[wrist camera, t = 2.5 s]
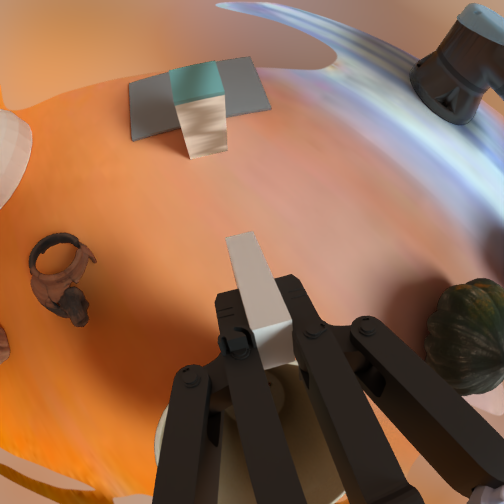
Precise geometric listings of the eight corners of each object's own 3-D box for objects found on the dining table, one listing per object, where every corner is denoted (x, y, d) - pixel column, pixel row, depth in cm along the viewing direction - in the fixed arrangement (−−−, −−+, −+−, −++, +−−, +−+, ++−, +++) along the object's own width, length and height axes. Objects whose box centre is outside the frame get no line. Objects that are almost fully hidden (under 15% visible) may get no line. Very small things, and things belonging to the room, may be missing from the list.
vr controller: (35, 289, 33) (13, 250, 27) (87, 256, 39) (73, 215, 33) (71, 355, 29) (44, 324, 23) (129, 314, 35) (117, 276, 28)
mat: (249, 58, 41) (249, 56, 41) (270, 109, 39) (271, 107, 39) (129, 85, 40) (129, 83, 39) (133, 141, 37) (131, 139, 37)
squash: (507, 268, 31) (531, 272, 19) (511, 366, 28) (529, 408, 17) (423, 287, 39) (411, 298, 27) (430, 379, 37) (417, 425, 25)
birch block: (219, 121, 38) (215, 60, 27) (227, 150, 38) (224, 91, 26) (184, 130, 38) (168, 70, 26) (190, 159, 37) (173, 102, 25)
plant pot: (187, 445, 30) (157, 519, 14) (194, 330, 33) (156, 345, 17) (308, 451, 30) (348, 523, 15) (322, 339, 33) (384, 358, 18)
